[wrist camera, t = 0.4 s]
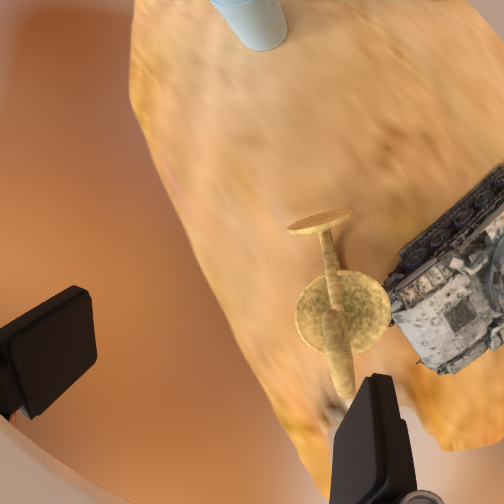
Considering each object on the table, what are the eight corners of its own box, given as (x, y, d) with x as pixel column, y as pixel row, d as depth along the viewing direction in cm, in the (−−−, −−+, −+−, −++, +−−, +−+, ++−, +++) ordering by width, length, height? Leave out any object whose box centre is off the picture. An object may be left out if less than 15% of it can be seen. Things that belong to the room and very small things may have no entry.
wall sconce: (282, 219, 38) (216, 311, 15) (356, 198, 35) (417, 260, 12) (313, 318, 41) (291, 476, 17) (381, 301, 38) (426, 452, 15)
